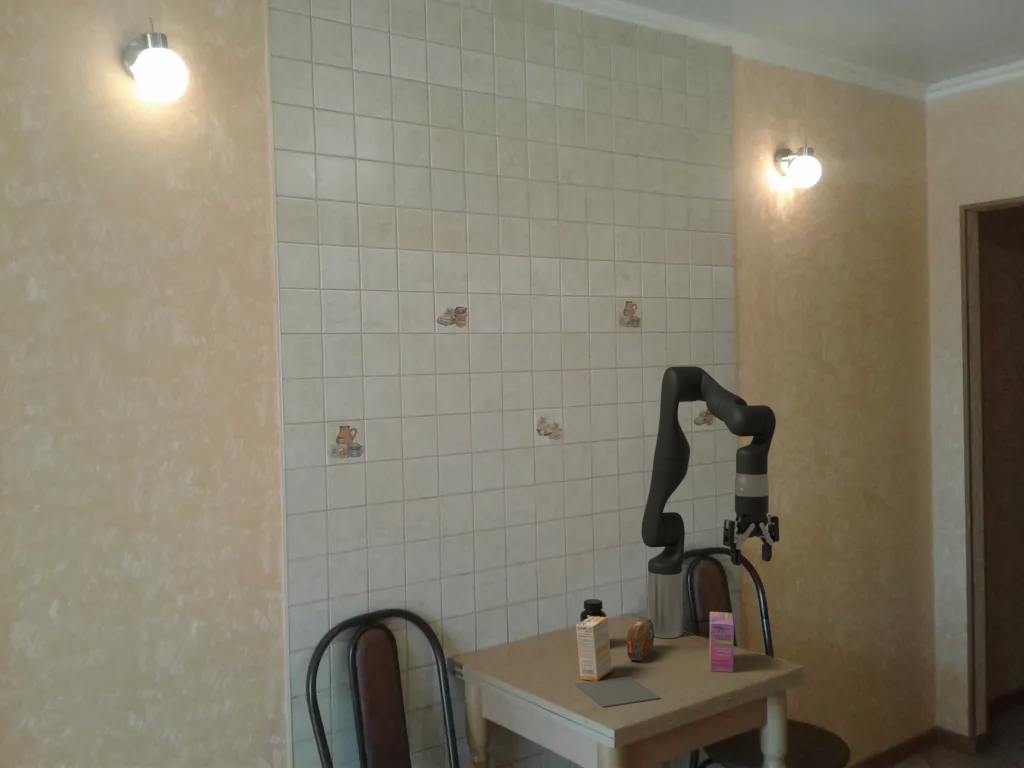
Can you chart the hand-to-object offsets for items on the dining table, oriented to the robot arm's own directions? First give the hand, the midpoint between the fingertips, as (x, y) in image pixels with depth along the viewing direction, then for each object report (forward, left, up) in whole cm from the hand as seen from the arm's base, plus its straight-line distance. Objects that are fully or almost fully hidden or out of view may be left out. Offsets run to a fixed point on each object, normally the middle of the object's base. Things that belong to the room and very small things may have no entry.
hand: (751, 562), depth 214 cm
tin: (-29, -14, -29) cm, 43 cm away
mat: (-8, -31, -29) cm, 42 cm away
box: (-15, +1, -29) cm, 32 cm away
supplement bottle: (-40, -22, -29) cm, 54 cm away
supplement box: (-19, -31, -29) cm, 46 cm away
